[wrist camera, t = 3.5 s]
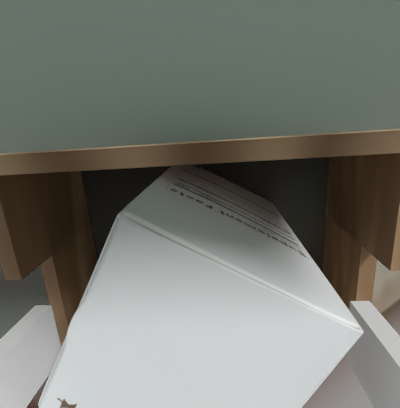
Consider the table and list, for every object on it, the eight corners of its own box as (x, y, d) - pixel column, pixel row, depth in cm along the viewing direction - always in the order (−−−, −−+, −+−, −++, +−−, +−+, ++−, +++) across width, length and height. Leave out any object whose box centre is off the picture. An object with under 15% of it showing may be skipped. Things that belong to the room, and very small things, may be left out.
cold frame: (95, 303, 27) (36, 388, 18) (64, 144, 23) (-31, 157, 14) (331, 298, 25) (391, 391, 16) (344, 126, 21) (433, 128, 12)
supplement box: (226, 288, 25) (237, 501, 11) (136, 245, 25) (26, 414, 10) (278, 203, 23) (378, 337, 9) (180, 153, 22) (111, 209, 8)
